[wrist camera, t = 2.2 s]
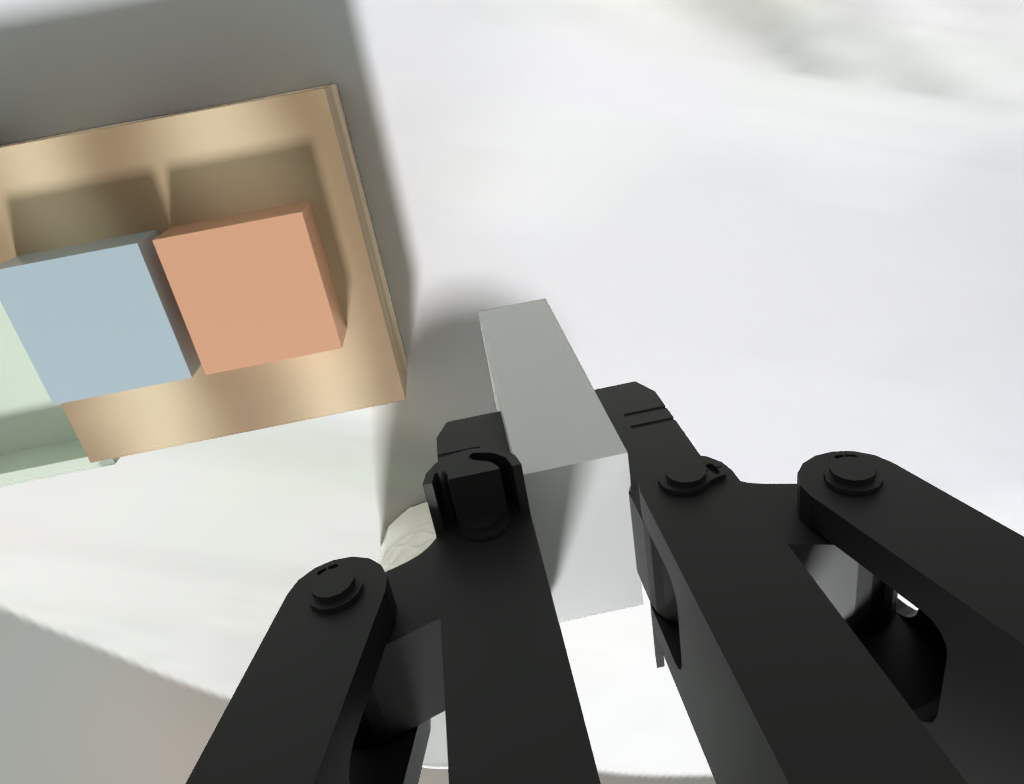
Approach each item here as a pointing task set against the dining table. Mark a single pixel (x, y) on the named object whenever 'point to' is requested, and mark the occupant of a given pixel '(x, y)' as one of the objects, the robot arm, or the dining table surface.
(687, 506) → the robot arm
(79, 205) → the tan square panel
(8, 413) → the tray
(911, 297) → the dining table surface
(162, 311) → the tile
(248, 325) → the tile
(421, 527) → the white cup
